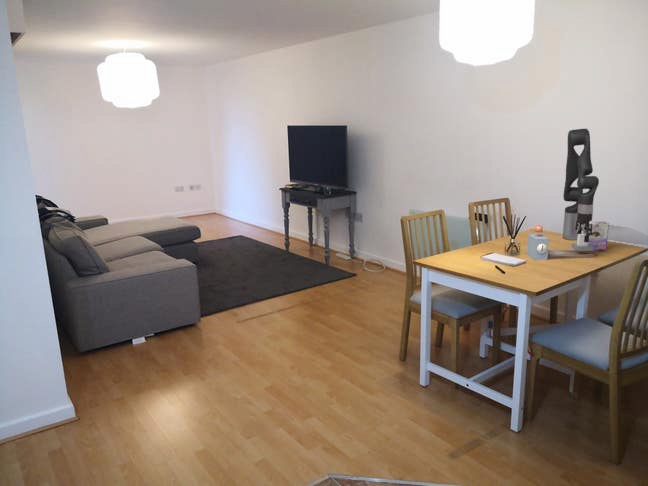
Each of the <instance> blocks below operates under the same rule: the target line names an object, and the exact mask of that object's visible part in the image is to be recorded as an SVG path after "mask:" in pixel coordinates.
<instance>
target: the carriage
mask: <svg viewBox="0 0 648 486" xmlns="http://www.w3.org/2000/svg"><path fill="white" fill-rule="evenodd" d="M584 236H585V234H578V236H577V240H576V242H574V243H573V242H572V243H571V248H572V249H575V250H577V251H591V252H592V251H593V246H591V245H589V244H588V242H584ZM593 252H594V251H593Z"/></svg>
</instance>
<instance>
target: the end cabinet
mask: <svg viewBox="0 0 648 486" xmlns="http://www.w3.org/2000/svg"><path fill="white" fill-rule="evenodd" d="M549 242H550V238H549V237H547V236H545V235H543V234H541V233H527V244H526V245H527V246H526V255H527V256H528V257H530V258H531V259H533V260H534V261H537V260H538V261H541V260H549V259H548V250H549V245H550V244H549Z"/></svg>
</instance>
